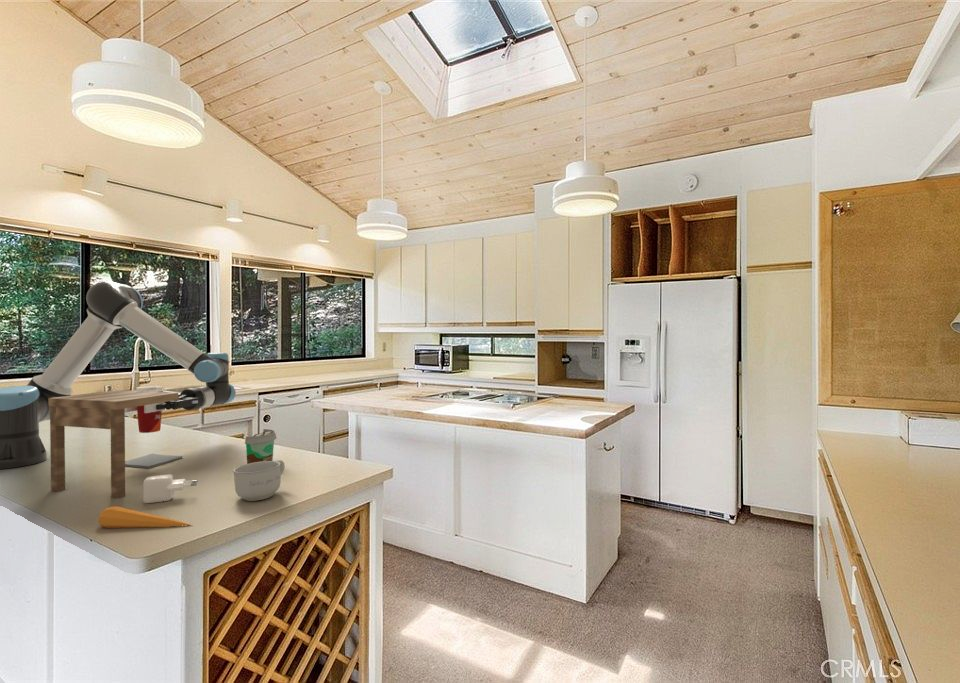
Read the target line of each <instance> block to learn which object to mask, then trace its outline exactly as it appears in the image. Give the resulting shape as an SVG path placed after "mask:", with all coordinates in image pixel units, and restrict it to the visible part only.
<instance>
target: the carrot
mask: <svg viewBox="0 0 960 683" xmlns="http://www.w3.org/2000/svg"><path fill="white" fill-rule="evenodd" d="M98 525H99V526H101V527H103V528H107V529H111V528H112V529H115V528H118V529H122V528H125V529H126V528H171V527H170V526H182V525H183V526H182V527H186V526H185V525H192V524H190V523H187V522H183V521H179V520H177V519H174V518H169V517H164V516H160V515H156V514H153V513H148V512H147V513H146V512H143V511H139V510H133V509H129V508H126V507H120V506H118V505H117V506H108V507H107V508H104V509H103V510H102V512H101V513H100V514H99V516H98Z"/></svg>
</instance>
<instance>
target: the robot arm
mask: <svg viewBox="0 0 960 683" xmlns="http://www.w3.org/2000/svg"><path fill="white" fill-rule="evenodd" d="M85 299H86V304H87V306H88V307H87V308H86V313H87V317H86V318H85V320H83V322H82V323H81V324H80V325H79V327H78V328H77V329H76V331H75V332H74V333H73V335H72V336H71V337H70V338H69V340H68V341H67V342H66V343H65V345H64V346H63V347H62V348H61V350H60V352H58V354H57V355H56V356H55V357H54V359H53V360H52V361H51V362H50V364H49V365H48V367H47V368H46V369H45V371H44V372H43V373H42V374H38V375H34V376H33V377H32V378H31V379H30V381H29V382H28V383H27V384H26V385H13V386H8V387H0V470H4V469H12V468H13V469H14V468H21V467H26V466H31V465H35V464H39V463H41V462H44V461H46V460H47V456H48V455H47V454H48V452H47V450H46V448H45V446H44V444H43V441H42V439H41V437H40V423H41V422H45V421H50V406H49V404H48V398H54V397H63V396H71V395H73V393H74V392H73V389H72V385H73V384H74V383H75V382H76V380H77V379H78V378H79V377H80V375H81V374H82V373H83V372H84V370H85V369H86V368H87V366H89V365H88V364H90V363H91V362H92V360H93V358H94V357H95V356H96V355H97V353H99V351H100V350H101V348H102V347H103V345H105V343H106V342H107V340H108V339H109V338H110V336H111V335H112V334H113V332H114V331H115V330H117V329H118V330H119V329H123V328H125V329H126V330H127V331H129V332H131V333H132V334H134V335H135V336H136V337H138V338H140V339H141V340H143V341H144V342H146V343H147V344H149V345H150V346H151V347H153V348H154V349H156V350H157V351H159V352H161V354H164V355H165V356H166V357H168V358H169V359H171V360H173V361H174V362H176V364H178V365H180V366H182V368H185V369H186V370H188V371H189V372H190V373H192V374H193V375H194V377H195V379H196V380H198V381H199V382H200V383H205V385H203V386H197V387H191V388H185V389H183V390H182V391H181V392H180V393H179V394H178V400H174V401H168V402H162V403H155V404H149V405H144V413H150V412H156V411H165V410H168V411H169V410H174V411H175V410H179V409H184V410H185V411H194V410H198V409H201V410H205V408H209V407H213V406H219V405H220V406H221V405H225V404H229V403H231V402H232V401H233V400H234V399H235V397H236V390H235V387H234V386H233V385H232V384H231V383H230V382H229V379H230V378H229V377H230V376H229V375H230V373H229V372H230V370H229V368H230V366H229V364H230V360H229V353H227V352H207V353H205V352H203V351H202V350H200V349H199V348H198V347H196V346H195V345H194V344H191V343H190V342H189V341H187V340H186V339H184V338H183V337H182V336H181V335H179V334H177V333H175V331H173V330H171V329H170V328H169V327H167V326H166V325H164V324H162V323H161V322H160V321H158V320H157V319H156V318H154V317H153V316H151V315H150V314H148V313H147V312H146V311H144V310H142V309H143V307H144V299H143V297H142V295H141V293H140V292H139V291H138V290H137V289H135V288H134V287H132V286H130V285H128V284H125V283H117V282H114V281H110V280H109V281H107V280H106V281H99V282H98V283H95V284H94V285H92V286H91V287H89V289H88V291H87V293H86V296H85ZM135 411H136V412H137V407H130V408H125V413H129V412H135Z"/></svg>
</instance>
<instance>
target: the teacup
mask: <svg viewBox="0 0 960 683" xmlns="http://www.w3.org/2000/svg"><path fill="white" fill-rule="evenodd" d="M285 468H286V467H285V462H284V461H283V460H281V459H275V460H272V461H261V462H254V463H249V464H247V463H245V464H241V465H239V466H237V467H235V468H233V471H232V472H233V478H234V490H235V494H236V495H237V496H238V497H240V498H241V499H243V500H244V501H247V502H255V501H261V500H266V499H268V498H271V497H272V496H273V495H274V494H275V493H276V492H277V491H278V490H279V489H280V488H281V487H280V486H281V482H282V481H281V476H282V475H283V473H284V471H285Z"/></svg>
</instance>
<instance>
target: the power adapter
mask: <svg viewBox="0 0 960 683" xmlns="http://www.w3.org/2000/svg"><path fill="white" fill-rule="evenodd" d="M198 483H199V480H198V479H195V480H194V479H193V480H186V478H179V479H177V478H176V479H174V476H173V474H170V473H169V474H160V475H151V476H147V477H146V478H145V479H144V481H143V484H142V497H143V500H142V501H143V503H144V504H153V503H154V504H155V502H156V503H161V502H162V503H164V502H168V501H170V500H172V499H173V496H174V491H175V492H176V491H182V490H184V488H186V487H196V486H197V485H198ZM163 501H164V502H163Z"/></svg>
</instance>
